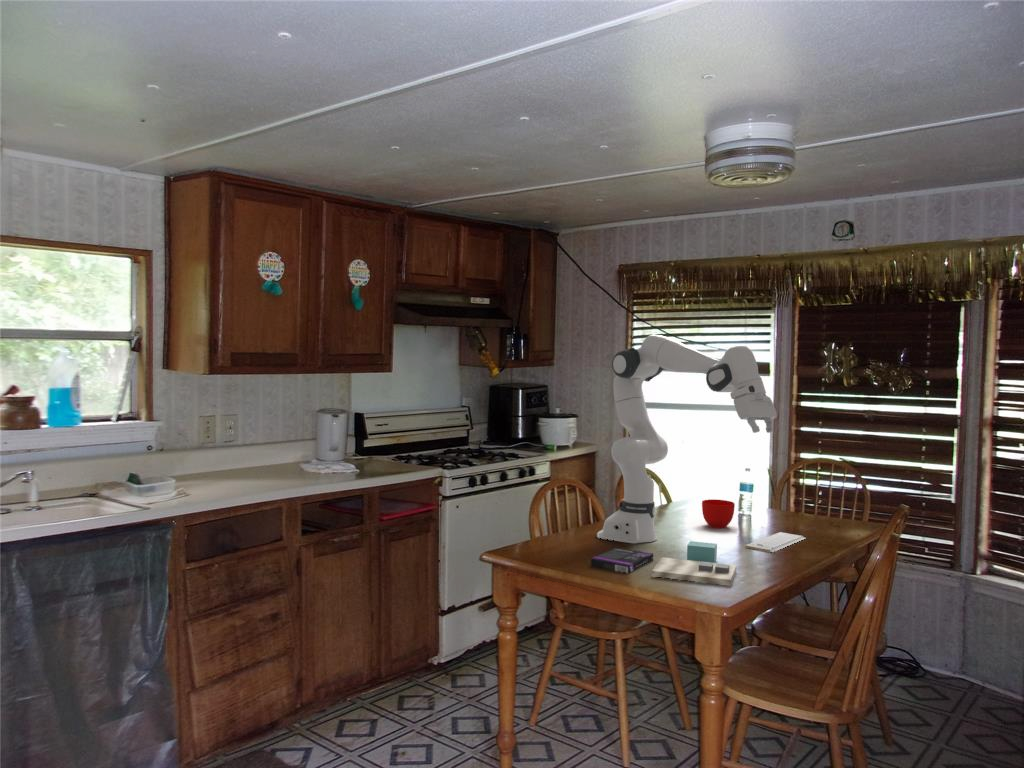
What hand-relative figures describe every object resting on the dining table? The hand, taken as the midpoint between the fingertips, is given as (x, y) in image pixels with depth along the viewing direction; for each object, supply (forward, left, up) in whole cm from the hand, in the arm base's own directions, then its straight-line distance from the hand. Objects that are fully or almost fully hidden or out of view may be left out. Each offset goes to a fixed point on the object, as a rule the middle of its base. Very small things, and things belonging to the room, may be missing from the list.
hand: (763, 432), depth 256 cm
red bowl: (-21, +66, -46) cm, 83 cm away
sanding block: (-19, +5, -46) cm, 50 cm away
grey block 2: (-10, -12, -43) cm, 46 cm away
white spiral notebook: (+4, +44, -46) cm, 64 cm away
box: (-43, -9, -46) cm, 64 cm away
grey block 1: (-15, -12, -43) cm, 48 cm away
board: (-19, -12, -45) cm, 51 cm away
